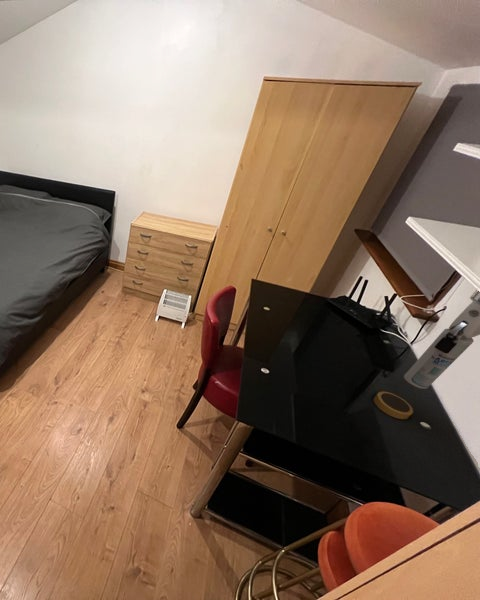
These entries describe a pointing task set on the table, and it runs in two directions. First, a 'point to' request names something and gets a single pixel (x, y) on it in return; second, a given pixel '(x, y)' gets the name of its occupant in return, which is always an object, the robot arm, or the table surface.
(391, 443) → the table surface
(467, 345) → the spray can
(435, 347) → the robot arm
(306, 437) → the table surface
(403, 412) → the stand
